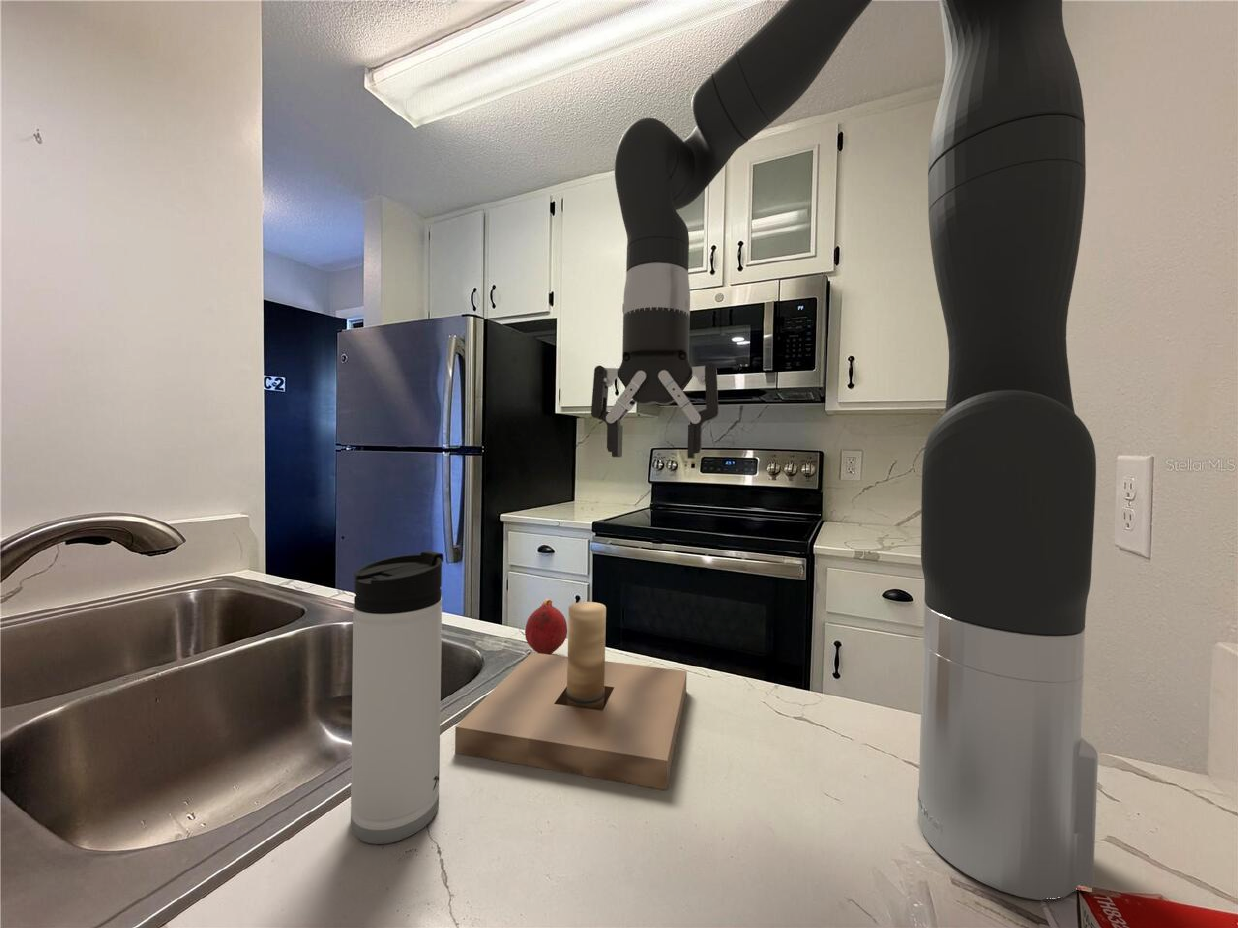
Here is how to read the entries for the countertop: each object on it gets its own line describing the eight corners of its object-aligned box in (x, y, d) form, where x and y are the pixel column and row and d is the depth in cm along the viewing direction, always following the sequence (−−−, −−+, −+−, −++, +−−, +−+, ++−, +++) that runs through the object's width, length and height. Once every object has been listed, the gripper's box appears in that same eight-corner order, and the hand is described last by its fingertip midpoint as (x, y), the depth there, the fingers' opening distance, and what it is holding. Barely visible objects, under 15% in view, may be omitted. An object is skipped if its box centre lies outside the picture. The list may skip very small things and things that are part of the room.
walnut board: (686, 691, 59) (686, 670, 59) (666, 789, 42) (667, 760, 41) (531, 671, 64) (531, 652, 64) (455, 752, 46) (455, 726, 46)
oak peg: (608, 711, 54) (610, 603, 54) (598, 731, 50) (601, 615, 50) (572, 706, 55) (574, 600, 55) (560, 725, 51) (562, 611, 51)
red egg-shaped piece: (558, 667, 65) (559, 607, 65) (518, 662, 66) (519, 604, 66) (571, 650, 71) (572, 595, 71) (534, 646, 72) (534, 592, 72)
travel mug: (459, 804, 39) (463, 556, 39) (381, 860, 34) (385, 572, 33) (411, 775, 43) (414, 547, 42) (333, 822, 37) (336, 559, 37)
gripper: (721, 321, 57) (718, 459, 58) (603, 326, 61) (601, 456, 61) (719, 301, 50) (715, 459, 50) (586, 307, 53) (583, 456, 54)
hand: (653, 457), depth 56 cm, fingers open, 8 cm apart
